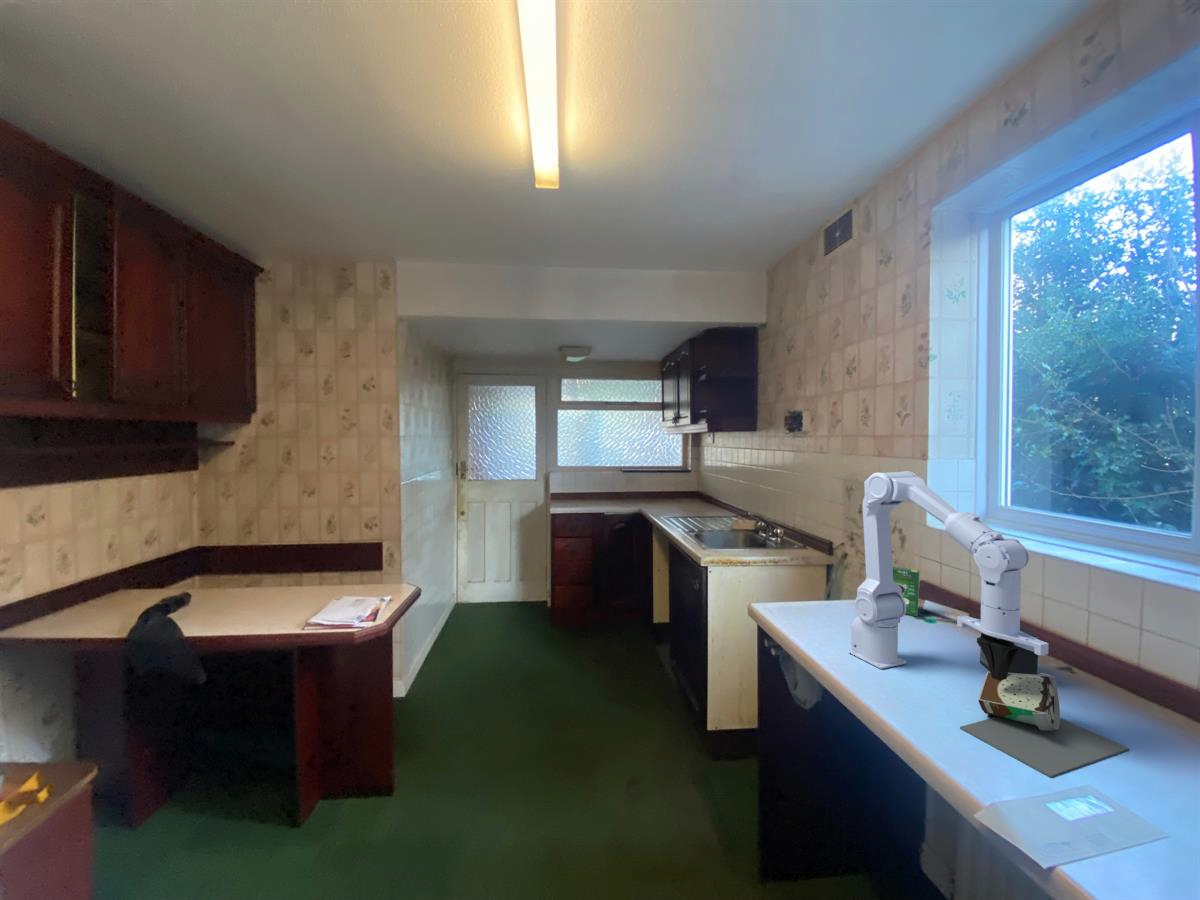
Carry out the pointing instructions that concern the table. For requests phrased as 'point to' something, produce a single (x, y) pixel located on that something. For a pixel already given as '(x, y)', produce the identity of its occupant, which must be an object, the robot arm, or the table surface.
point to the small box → (1019, 660)
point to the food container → (1022, 699)
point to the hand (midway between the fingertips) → (998, 678)
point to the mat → (1045, 744)
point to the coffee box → (908, 588)
